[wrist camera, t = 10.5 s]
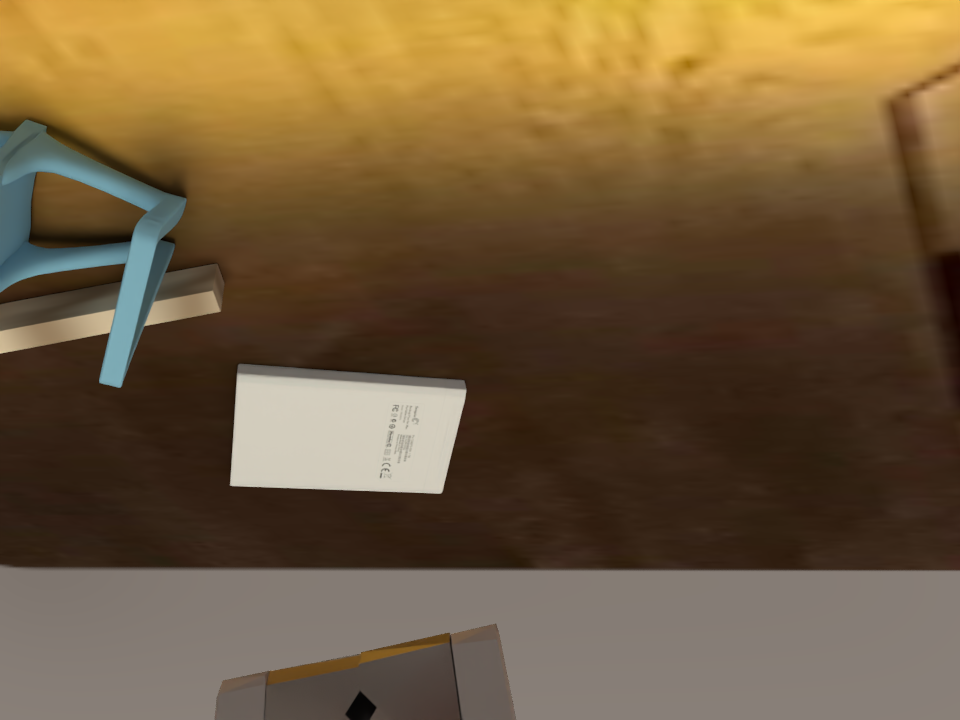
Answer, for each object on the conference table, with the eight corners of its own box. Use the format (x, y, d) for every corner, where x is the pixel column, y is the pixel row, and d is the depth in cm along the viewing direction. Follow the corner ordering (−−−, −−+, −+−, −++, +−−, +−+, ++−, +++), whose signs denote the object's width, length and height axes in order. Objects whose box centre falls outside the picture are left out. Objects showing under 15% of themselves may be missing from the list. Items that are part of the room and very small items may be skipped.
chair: (200, 154, 41) (-86, 54, 38) (157, 239, 35) (-196, 125, 31) (165, 292, 45) (-98, 211, 42) (119, 392, 38) (-198, 305, 35)
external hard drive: (238, 357, 49) (464, 374, 52) (231, 469, 54) (438, 479, 57) (236, 376, 48) (467, 392, 51) (229, 488, 52) (441, 498, 55)
